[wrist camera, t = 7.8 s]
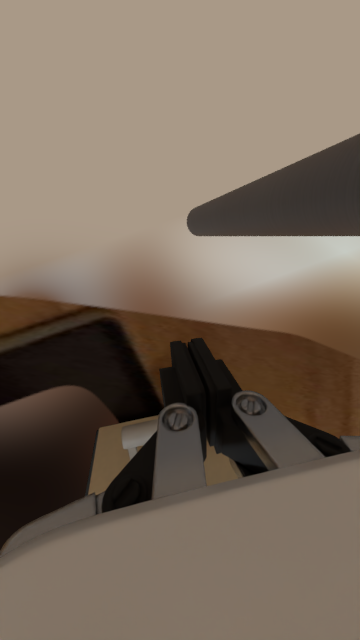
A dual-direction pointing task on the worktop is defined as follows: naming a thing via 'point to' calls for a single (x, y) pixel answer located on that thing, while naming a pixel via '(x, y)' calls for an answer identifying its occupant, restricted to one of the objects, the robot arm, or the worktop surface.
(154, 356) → the worktop surface
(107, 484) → the drawer
